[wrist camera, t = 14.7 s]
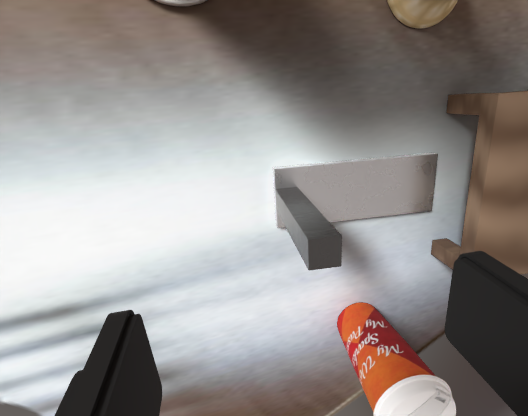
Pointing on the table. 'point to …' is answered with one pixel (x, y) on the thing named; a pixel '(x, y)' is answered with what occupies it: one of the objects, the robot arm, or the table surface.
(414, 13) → the hand bell
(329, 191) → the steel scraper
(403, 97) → the table surface
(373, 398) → the coffee cup
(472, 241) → the walnut bench
